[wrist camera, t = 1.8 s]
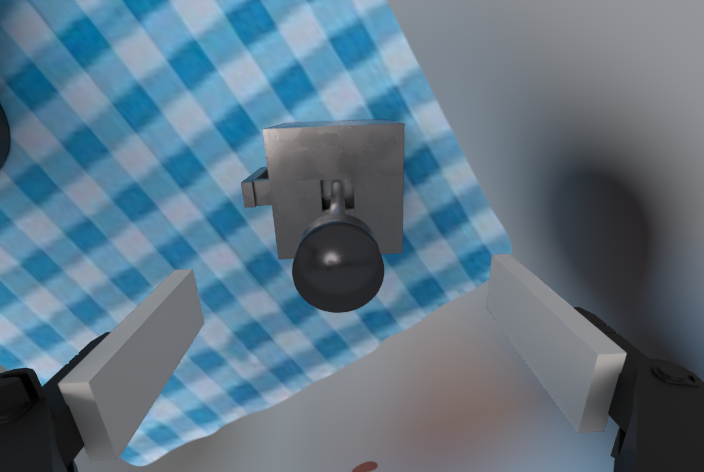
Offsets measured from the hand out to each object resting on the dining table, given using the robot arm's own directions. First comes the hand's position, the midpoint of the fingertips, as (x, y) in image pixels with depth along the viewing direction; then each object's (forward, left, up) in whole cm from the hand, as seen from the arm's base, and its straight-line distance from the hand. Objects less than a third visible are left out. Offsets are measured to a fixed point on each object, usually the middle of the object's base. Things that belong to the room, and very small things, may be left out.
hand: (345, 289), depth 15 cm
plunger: (0, 0, -21) cm, 21 cm away
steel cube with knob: (-2, 0, -31) cm, 31 cm away
